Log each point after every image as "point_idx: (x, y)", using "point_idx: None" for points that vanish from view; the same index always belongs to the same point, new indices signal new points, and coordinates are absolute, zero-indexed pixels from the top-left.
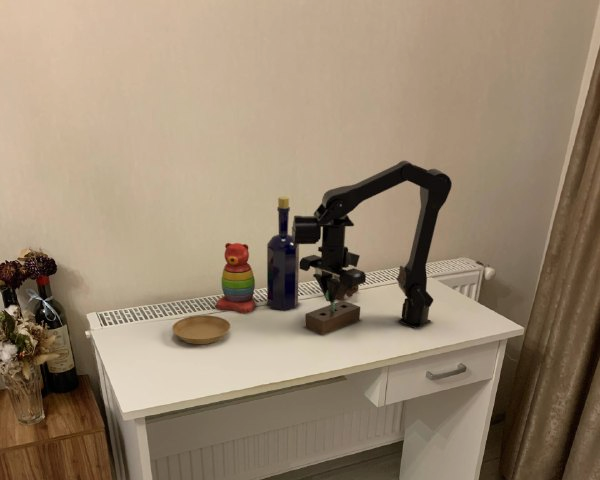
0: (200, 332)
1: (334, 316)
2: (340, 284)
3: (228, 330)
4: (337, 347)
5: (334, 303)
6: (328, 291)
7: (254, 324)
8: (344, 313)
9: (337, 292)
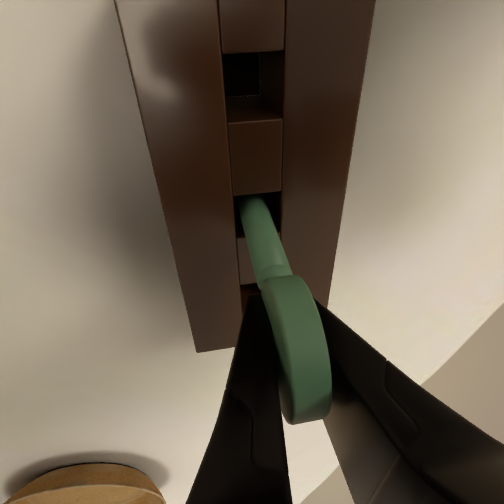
0: (76, 490)
1: (330, 265)
2: (476, 451)
3: (144, 489)
4: (404, 289)
5: (284, 253)
6: (337, 439)
7: (69, 403)
8: (346, 183)
9: (369, 348)
